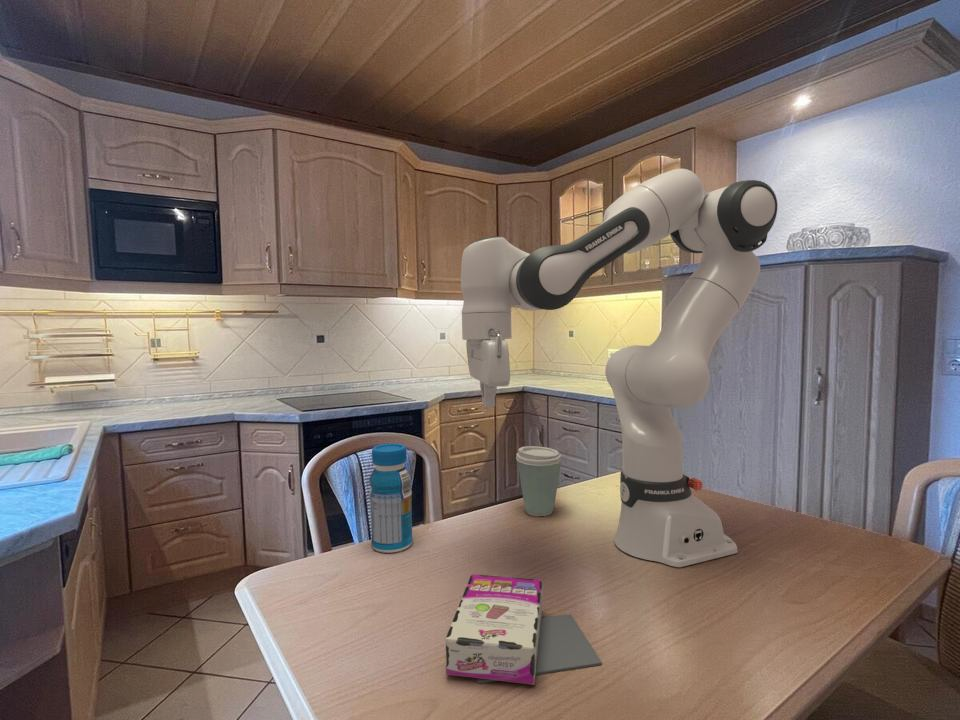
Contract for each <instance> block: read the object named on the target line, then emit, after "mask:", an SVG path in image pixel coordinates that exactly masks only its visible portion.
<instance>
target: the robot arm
mask: <svg viewBox="0 0 960 720" xmlns="http://www.w3.org/2000/svg"><path fill="white" fill-rule="evenodd" d="M775 193H776V192H775V191H774V190H773V189H772V187H771V186H770V185H768V184H767V183H766V182H763V181H761V180H757V179H756V180H755V179H748V180H747V179H746V180H740V181H735V182H733V183H731V184H730V185H727V186H724V187H720V188H718V189H715V190H712V191H709V190H706V189H705V188H704V185H703V183H702V181H701V179H700V178H699V176H698V175H697V174H696V173H695V172H693V171H692V170H690V169H687V168H673V169H671V170H667V171H666V172H662V173H660V174H658V175H656V176H653V177H651V178H649V179H647V180H645V181H643V182H641V183H639V184H638V185H636V186H634V187H632V188H631V189H629V190H628V191H626V192H625V193H623V194H621V196H619V197H618V198H617V199H616V200H614V201H613V202H612V203H611V204H610V205H609V206H608V207H607V208H606V209H605V211H604V215H603V220H602V222H601V223H600V224H599V225H597V226H596V227H594V228H592V229H591V230H589V231H588V232H585V234H583V235H581V236H580V237H579V236H578V238H576V239H575V240H572V241H571V242H569V243H566V244H555V245H548V246H543V247H539V248H538V249H535V250H534V251H532V252H531V253H529V252H526V251H524V250H522V249H520V248H518V247H517V246H514V245H513V244H512V243H510V242H509V241H508V240H507V239H506V238H505V237H503V236H497V235H496V236H493V235H492V236H487V237H481V238H479V239H476V240H473V241H471V242H469V244H467V245H466V247H465V248H464V249H463V251H462V256H461V265H460V267H461V268H460V289H461V290H460V291H461V293H462V298H463V299H462V300H463V305H462V309H461V329H462V330H461V333H462V340H463V341H466V343H465V346H466V355H467V357H466V358H467V365H468V373H469V375H470V377H471V378H473V379H475V380H477V381H479V388H480V393H481V402H482V403H481V404H482V405H483V406H484V407H485V408H487V409H489V408H491V409H492V408H494V407H495V406H496V395H497V389H498V387H508V386H509V385H510V382H511V367H510V366H511V365H510V364H511V363H510V353H509V345H508V341H506V340H508V339H512V337H513V336H512V335H513V334H512V333H513V332H512V309H513V308H516V309H520V310H525V311H529V312H530V311H542V310H544V311H547V310H548V311H555V310H559V309H561V308H563V307H565V306H567V305H568V304H569V303H571V302H572V301H573V300H574V299H575V298H576V297H577V295H578V293H580V290H581V289H582V288H583V286H584V284H585V283H586V282H587V280H588V279H589V278H590V277H591V276H593V275H594V274H595V273H597V272H598V271H600V270H601V269H603V268H604V267H606V266H607V265H609V264H610V263H612V262H613V261H615V260H616V259H618V258H619V257H621V256H623V255H625V254H629V255H630V254H634V253H637V252H639V251H641V250H645V249H647V248H648V247H649V248H650V247H651V246H653V245H655V244H657V243H659V242H660V241H662V240H664V239H666V237H668V236H670V238H671V239H672V241H673V242H674V244H675V245H676V246H677V248H679V249H680V250H681V251H683V252H687V253H689V254H701V258H700V260H699V263H698V265H697V268H696V269H695V270H694V272H693V273H692V274H691V275H690V276H689V277H688V279H687V280H686V281H685V282H684V284H683V285H682V287H681V288H680V289H679V291H678V292H677V293H676V294H675V296H674V297H673V298H672V300H671V301H670V302H669V303H668V305H667V306H666V308H665V309H664V311H663V315H662V320H663V324H662V327H661V330H660V332H659V334H658V335H657V338H656V339H655V340H654V341H653V342H652V343H651V344H650V345H636V344H635V345H630V346H629V345H628V346H627V347H623V348H621V349H619V350H617V351H614V352H613V353H612V354H611V355H610V357H609V358H608V360H607V362H606V365H605V371H604V372H605V378H606V380H607V381H606V382H607V383H608V385H609V386H610V387H611V390H612V392H613V397H614V401H615V406H616V410H617V414H618V420H619V423H620V424H619V425H620V429H621V431H620V432H621V447H622V453H621V455H622V456H621V457H622V470H620V479H619V481H620V483H619V491H620V492H619V493H620V501H621V507H620V514H619V521H618V524H617V530H616V534H615V536H614V540H613V541H614V545H615V546H616V547H617V548H618V549H619V550H621V551H622V552H624V553H626V554H628V555H629V556H633V557H635V558H639V559H641V560H647V561H652V562H653V561H654V562H657V563H662V564H664V565H668V566H670V567H674V568H683V567H686V566H690V565H695V564H698V563H699V564H700V563H704V562H707V561H711V560H714V559H715V560H716V559H719V558H722V557H726V556H727V557H728V556H730V555H735V554H738V551H739V550H738V546H737V544H736V542H735V541H734V540H733V539H732V538H731V537H729V536H728V535H727V534H725V533H724V528H723V523H722V519H721V518H720V516H719V514H718V513H717V512H715V510H713V509H712V508H711V507H709V505H707V504H705V502H703V501H702V500H700V499H699V498H698V497H696V496H695V494H693V493H692V490H691V489H693V490H695V491H697V492H698V491H701V490H702V489H703V486H704V483H703V482H702V480H699V479H697V478H695V477H691V478H690V477H689V476H687V475H686V474H684V438H683V434H682V432H681V430H680V428H679V427H678V425H677V423H676V421H675V420H674V417H673V414H672V410H671V409H676V408H686V407H692V406H694V405H696V404H697V403H700V401H702V399H703V398H704V397H705V396H706V394H707V392H708V390H709V387H710V383H711V375H710V369H709V368H708V363H709V359H710V356H711V354H712V351H713V349H714V346H715V345H716V343H717V341H718V339H719V338H720V336H721V335H722V334H723V332H724V331H725V330H726V328H727V327H728V325H729V324H730V322H731V321H733V318H734V317H735V316H736V314H737V313H738V312H739V311H740V309H741V308H742V307H743V305H744V304H745V302H746V300H747V299H748V297H749V295H750V294H751V292H752V291H753V288H754V286H755V284H756V282H757V280H758V277H759V276H760V272H761V262H760V260H759V258H758V256H757V255H756V254H755V253H754V251H755V250H757V249H759V248H761V247H762V246H763V245H764V244H765V243H766V242H767V239H768V234H769V233H770V231H771V229H772V228H773V226H774V224H775V221H776V218H777V215H778V197H777V195H776V194H775ZM759 243H760V244H759Z"/></svg>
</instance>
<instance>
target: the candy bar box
mask: <svg viewBox="0 0 960 720" xmlns="http://www.w3.org/2000/svg"><path fill="white" fill-rule="evenodd" d="M542 606H543V581H542V579H535V578H534V579H533V578H521V577H509V576H495V575H484V574H474V573H473V574H472V573H471V574H470V577H469V579H468V582H467V585H466V586H465V589H464V591H463V594H462V595H461V599H460V601H459V605H458V606H457V609H456V612H455V613H454V617H453V619H452V622H451V624H450V626H449V627H450V628H449V629H448V630H447V631H448V632H447V634H446V637H445V652H446V653H445V659H446V660H445V661H446V662H445V664H446V665H445V673H446V676H447V675H448V676H455V677H464V678H465V677H466V678H474V679H477V678H481V679H490V680H498V681H500V682H508V683H516V684H517V683H518V684H525V685H532V686H533V685H535V681H536V675H535V672H536V661H537V652H538V642H539V632H540V623H541V618H542V611H543V610H542ZM498 681H497V682H498Z"/></svg>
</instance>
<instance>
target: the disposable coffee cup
mask: <svg viewBox="0 0 960 720" xmlns="http://www.w3.org/2000/svg"><path fill="white" fill-rule="evenodd" d="M562 457H563V456H562V455H561V453H560V452H559V451H558V450H557V449H553V448H551V447H546V446H534V445H533V446H532V445H528V446H522V447H519V448H518V452H517V453H516V456H515V459H516V461H517V466H518V471H519V472H518V474H519V480H520V486H521V493H522V499H523V500H522V501H523V506H524V509H525V511H526V514H527V515H530V516H531V517H532V516H533V517H537V516H538V517H539V516H544V517H548V516H551V515H552V513H553V511H554V510H555V503H556V497H557V490H558V485H559V484H558V483H559V476H560V471H561V464H562V461H563V459H562ZM550 514H551V515H550ZM547 515H548V516H547ZM539 518H540V517H539Z"/></svg>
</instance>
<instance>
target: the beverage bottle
mask: <svg viewBox="0 0 960 720" xmlns="http://www.w3.org/2000/svg"><path fill="white" fill-rule="evenodd" d="M407 456H408V455H407V447H406V445H404V444H401V443H384V444H383V443H382V444H378V445H375V446H373V448H372V449H371V460H372V465H373V466H374V468H373V470H372V472H371V475H370V477H369V480H368V481H369V482H368V484H369V486H370V489H369V493H368V499H369V505H370V528H371V530H370V531H371V532H370V533H371V546H372V549H373V550H375V551H377V552H380V553H382V554H383V553H385V554H390V553H398V552H402V551H404V550H406V549H408V548H409V547H411V545H413V540H414V538H413V517H412V516H413V513H412V512H413V511H412V510H413V509H412V497H413V490H412V488H411V486H410V483H411V482H412V479H411V478H412V477H411V475H410V471H409V470H408V468H407V467H406V466H405V464H406V463H407Z"/></svg>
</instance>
